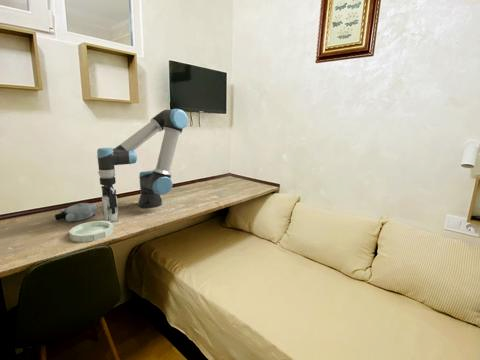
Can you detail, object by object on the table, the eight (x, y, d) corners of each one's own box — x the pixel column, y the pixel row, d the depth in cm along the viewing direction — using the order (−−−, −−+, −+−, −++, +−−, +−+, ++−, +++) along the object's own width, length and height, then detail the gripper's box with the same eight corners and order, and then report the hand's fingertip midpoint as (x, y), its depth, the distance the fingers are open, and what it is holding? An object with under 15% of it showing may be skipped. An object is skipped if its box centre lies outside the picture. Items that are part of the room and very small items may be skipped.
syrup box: (114, 218, 144) (112, 193, 141) (119, 220, 141) (116, 195, 138) (103, 220, 140) (101, 195, 137) (108, 223, 136) (106, 197, 133)
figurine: (91, 209, 156) (53, 221, 142) (88, 197, 153) (49, 207, 139) (102, 216, 145) (62, 230, 131) (99, 203, 142) (58, 215, 128)
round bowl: (105, 223, 136) (104, 218, 136) (119, 233, 124) (119, 227, 124) (65, 233, 123) (65, 227, 122) (77, 245, 111) (76, 239, 110)
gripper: (93, 175, 138) (97, 214, 143) (106, 180, 126) (110, 224, 131) (107, 173, 144) (111, 211, 149) (122, 178, 132) (125, 220, 136)
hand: (111, 217), depth 140 cm, fingers closed on syrup box, 6 cm apart
